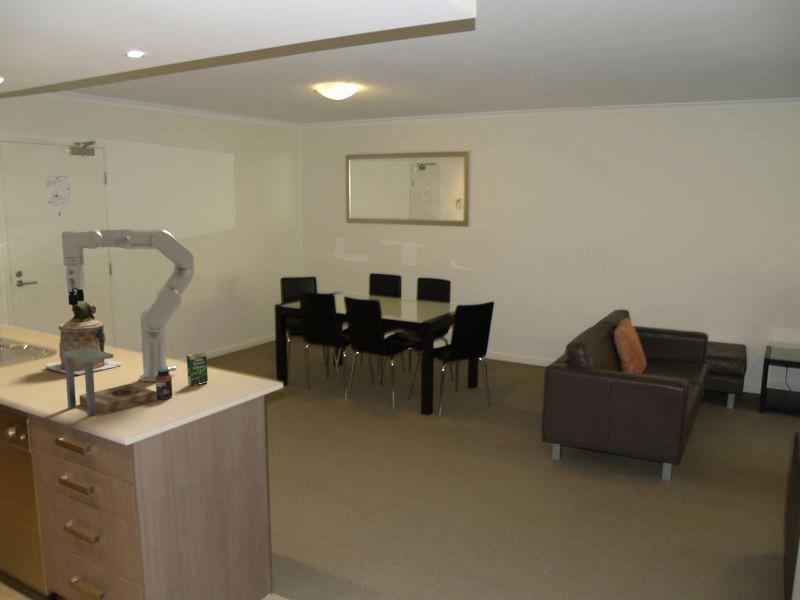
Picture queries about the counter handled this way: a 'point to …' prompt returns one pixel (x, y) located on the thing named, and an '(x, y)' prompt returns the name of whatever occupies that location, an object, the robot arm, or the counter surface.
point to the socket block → (120, 397)
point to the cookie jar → (82, 339)
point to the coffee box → (197, 368)
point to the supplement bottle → (163, 384)
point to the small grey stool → (87, 357)
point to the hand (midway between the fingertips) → (76, 302)
